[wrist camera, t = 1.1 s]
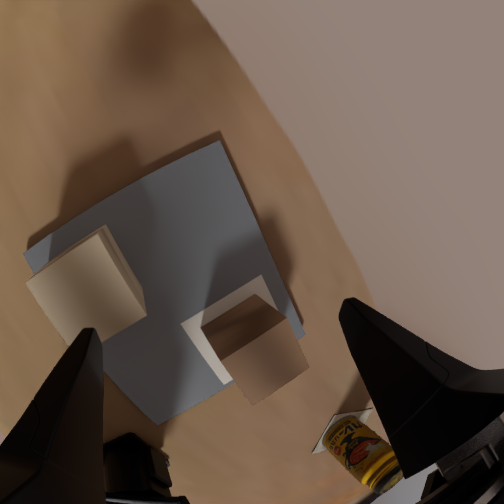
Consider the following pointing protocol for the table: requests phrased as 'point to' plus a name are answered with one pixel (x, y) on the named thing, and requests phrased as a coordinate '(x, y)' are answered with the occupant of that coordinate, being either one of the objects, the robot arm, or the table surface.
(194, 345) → the grey base plate
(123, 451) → the robot arm
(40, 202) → the table surface
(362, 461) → the condiment
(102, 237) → the birch block
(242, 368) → the walnut block
